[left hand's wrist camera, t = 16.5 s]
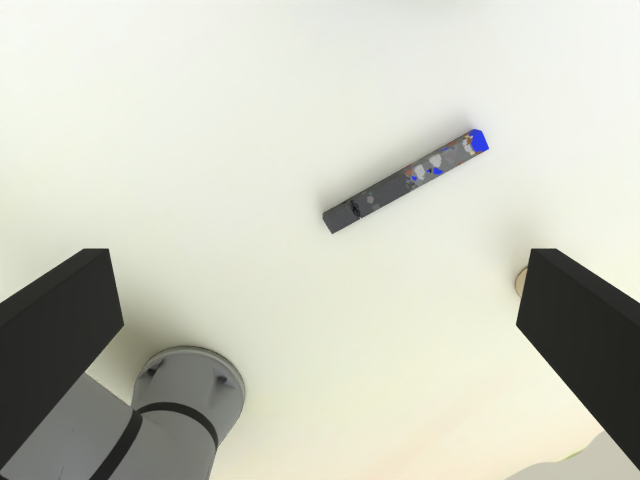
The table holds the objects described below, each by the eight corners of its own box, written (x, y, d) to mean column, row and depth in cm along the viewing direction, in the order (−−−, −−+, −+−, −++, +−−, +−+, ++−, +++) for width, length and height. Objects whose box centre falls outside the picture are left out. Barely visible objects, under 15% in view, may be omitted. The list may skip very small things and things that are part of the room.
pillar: (322, 218, 45) (484, 129, 42) (322, 213, 47) (476, 127, 44) (332, 234, 46) (492, 147, 42) (331, 228, 48) (484, 144, 44)
